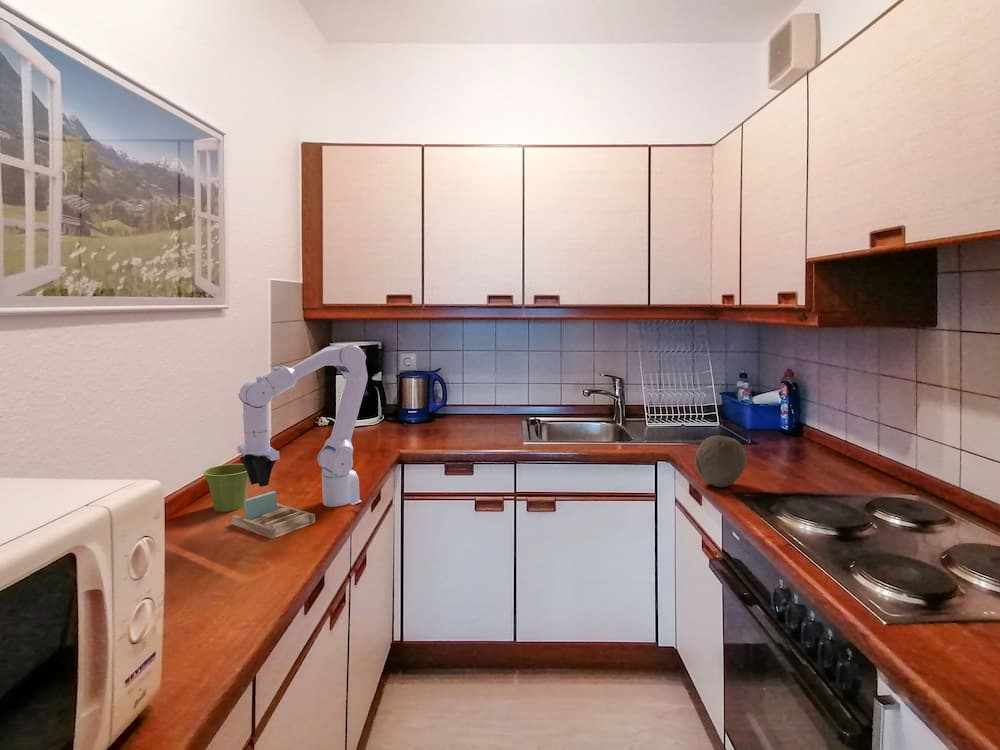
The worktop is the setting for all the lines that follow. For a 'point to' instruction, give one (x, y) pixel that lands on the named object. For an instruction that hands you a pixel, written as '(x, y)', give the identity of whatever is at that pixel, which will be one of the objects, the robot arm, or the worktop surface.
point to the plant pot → (227, 486)
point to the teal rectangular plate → (260, 505)
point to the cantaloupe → (720, 460)
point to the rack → (276, 523)
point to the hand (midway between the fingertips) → (259, 484)
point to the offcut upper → (276, 514)
